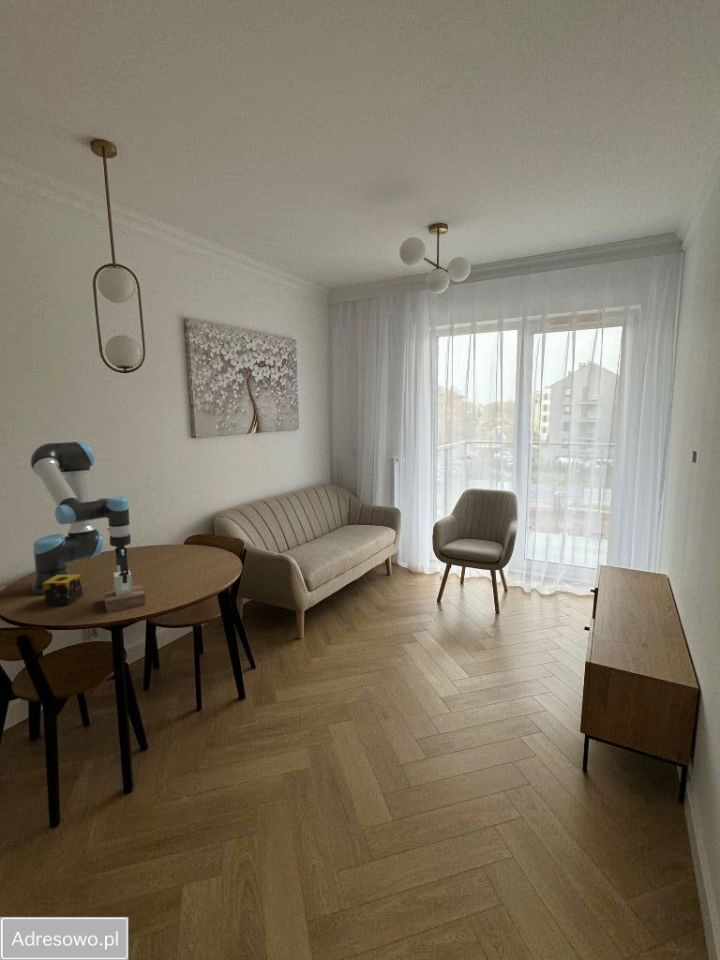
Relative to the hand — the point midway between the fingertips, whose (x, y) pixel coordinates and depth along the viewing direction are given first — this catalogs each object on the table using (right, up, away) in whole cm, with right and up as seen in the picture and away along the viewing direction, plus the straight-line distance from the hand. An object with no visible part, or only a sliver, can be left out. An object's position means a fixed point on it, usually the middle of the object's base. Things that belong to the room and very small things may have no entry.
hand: (123, 584), depth 191 cm
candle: (-26, -8, +2) cm, 27 cm away
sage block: (0, -3, 0) cm, 3 cm away
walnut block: (0, -8, +1) cm, 8 cm away
